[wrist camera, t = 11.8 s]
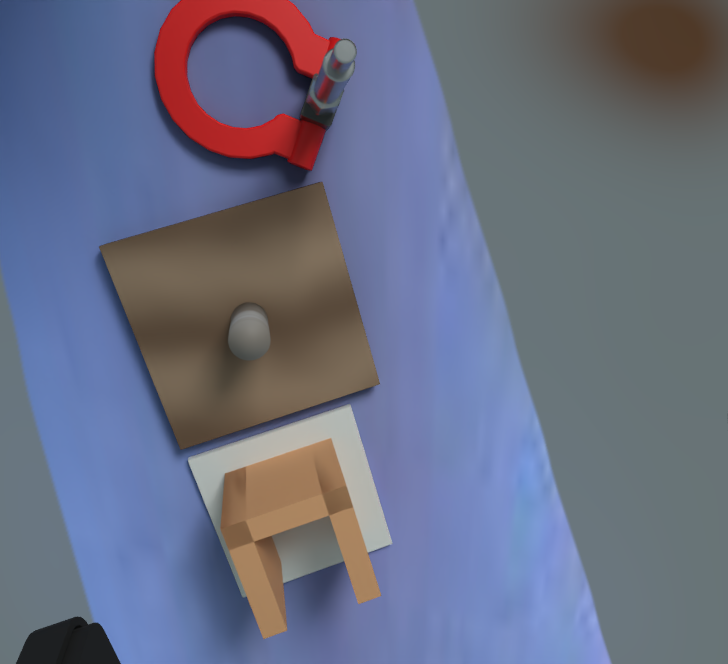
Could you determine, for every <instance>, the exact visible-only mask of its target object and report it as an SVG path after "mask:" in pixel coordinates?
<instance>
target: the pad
mask: <svg viewBox="0 0 728 664" xmlns="http://www.w3.org/2000/svg"><path fill="white" fill-rule="evenodd" d="M329 438H331V439H332V442H333V445H334V449H335V452H336V455H337V458H338V461H339V464H340V467H341V470H342V473H343V476H344V479H345V483H346V486H347V489H348V492H349V495H350V498H351V501H352V505H353V508H354V511H355V514H356V517H357V520H358V524H359V527H360V530H361V533H362V536H363V539H364V543H365V546H366V549H367V552H371V551H374V550H376V549H379V548H382V547H385V546H387V545H390V544H392V540H391V537H390V534H389V531H388V527H387V524H386V521H385V517H384V514H383V511H382V507H381V504H380V501H379V498H378V494H377V491H376V488H375V484H374V481H373V478H372V475H371V471H370V468H369V465H368V461H367V458H366V455H365V451H364V448H363V445H362V442H361V438H360V435H359V432H358V428H357V425H356V422H355V419H354V415H353V412H352V409H351V406H350V404H348V405H345V406H342V407H339V408H336V409H333V410H330V411H327V412H324V413H321V414H318V415H315V416H312V417H309V418H306V419H303V420H300V421H297V422H294V423H291V424H288V425H285V426H282V427H279V428H276V429H273V430H270V431H267V432H264V433H261V434H258V435H255V436H252V437H249V438H246V439H243V440H239V441H236V442H233V443H230V444H227V445H224V446H221V447H218V448H215V449H212V450H209V451H206V452H203V453H200V454H197V455H194V456H191V457H188V462H189V465H190V467H191V470H192V472H193V475H194V477H195V480H196V482H197V485H198V487H199V490H200V492H201V495H202V497H203V500H204V502H205V505H206V507H207V510H208V512H209V515H210V517H211V520H212V522H213V525H214V527H215V530H216V532H217V535H218V537H219V540H220V542H221V545H222V547H223V550H224V552H225V555H226V557H227V560H228V562H229V565H230V567H231V570H232V572H233V575H234V577H235V580H236V582H237V585H238V587H239V590H240V592H241V595H242V597H243V598H244V597H246V593H245V590H244V588H243V585H242V583H241V580H240V578H239V575H238V573H237V570H236V568H235V565H234V563H233V560H232V557H231V555H230V552H229V550H228V547H227V545H226V542H225V540H224V537H223V535H222V532H221V530H220V527H221V515H222V502H223V490H224V478H225V473H228V472H231V471H234V470H237V469H240V468H243V467H246V466H249V465H252V464H255V463H258V462H261V461H264V460H267V459H270V458H273V457H276V456H279V455H281V454H284V453H287V452H290V451H293V450H296V449H299V448H302V447H305V446H308V445H311V444H314V443H317V442H320V441H323V440H326V439H329ZM272 538H273V541H274V544H275V546H276V549H277V552H278V555H279V557H280V560H281V564H282V576H283V583H285V582H288V581H291V580H293V579H296V578H299V577H302V576H304V575H307V574H310V573H313V572H315V571H318V570H321V569H324V568H327V567H329V566H332V565H335V564H338V563H340V562H343V561H344V559H343V556H342V553H341V550H340V547H339V544H338V541H337V537H336V534H335V531H334V528H333V525H332V522H331V519H330V516H326V517H323V518H321V519H318V520H315V521H312V522H309V523H306V524H303V525H300V526H298V527H295V528H292V529H289V530H286V531H283V532H280V533H278V534H275V535H272Z"/></svg>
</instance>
